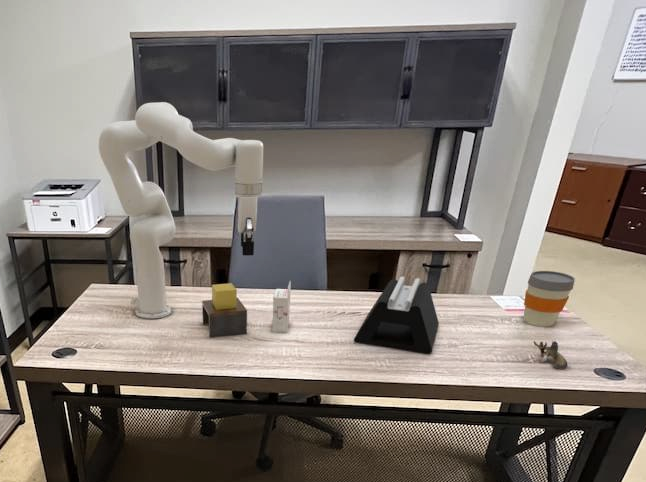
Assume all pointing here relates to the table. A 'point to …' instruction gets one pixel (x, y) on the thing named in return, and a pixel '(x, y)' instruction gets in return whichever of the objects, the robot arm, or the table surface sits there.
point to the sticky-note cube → (224, 296)
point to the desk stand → (225, 319)
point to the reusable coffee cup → (546, 297)
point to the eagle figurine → (552, 354)
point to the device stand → (401, 318)
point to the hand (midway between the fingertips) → (247, 250)
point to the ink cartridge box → (281, 309)
